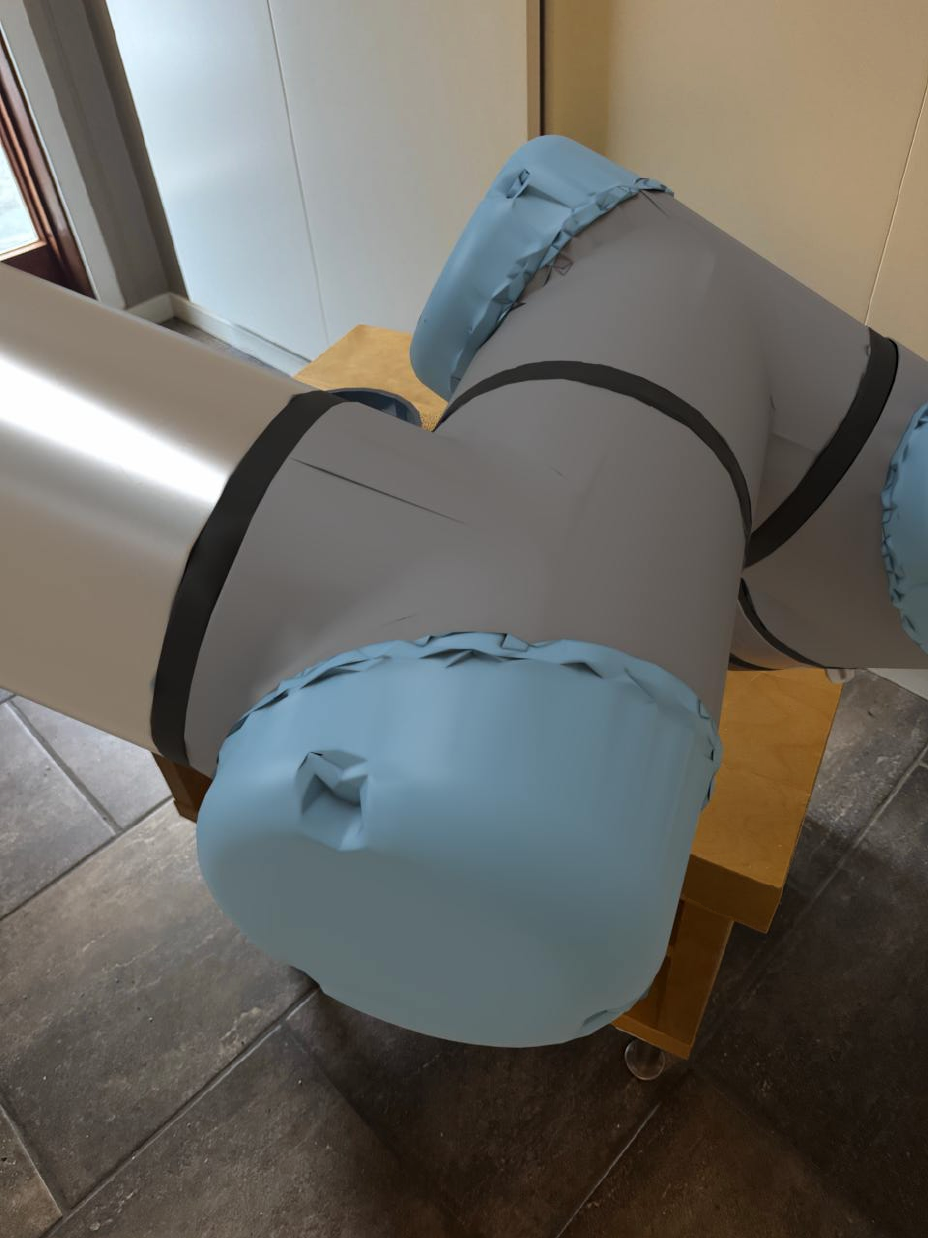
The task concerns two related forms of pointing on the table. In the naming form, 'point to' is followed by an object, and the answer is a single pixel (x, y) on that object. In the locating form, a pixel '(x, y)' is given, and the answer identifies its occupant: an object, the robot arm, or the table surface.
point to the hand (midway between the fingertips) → (609, 611)
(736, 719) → the table surface
